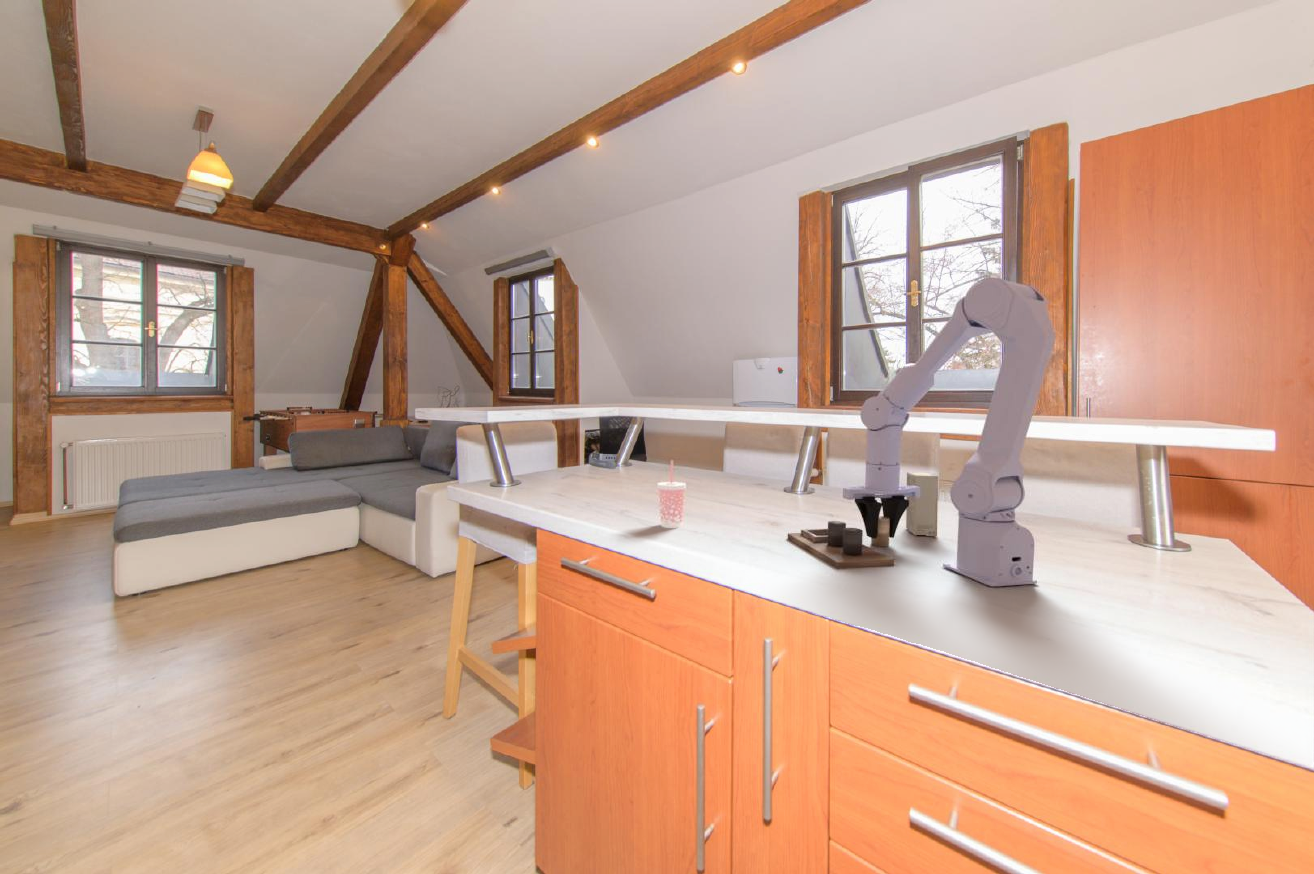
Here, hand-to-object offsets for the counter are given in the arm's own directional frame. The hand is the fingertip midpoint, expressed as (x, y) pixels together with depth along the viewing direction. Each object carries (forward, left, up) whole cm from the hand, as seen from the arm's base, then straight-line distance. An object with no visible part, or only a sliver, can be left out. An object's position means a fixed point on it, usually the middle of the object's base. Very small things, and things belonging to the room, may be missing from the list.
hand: (880, 536), depth 92 cm
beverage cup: (+21, +35, -2) cm, 41 cm away
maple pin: (0, 0, -1) cm, 1 cm away
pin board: (-2, +10, -2) cm, 10 cm away
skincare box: (+7, -14, -2) cm, 16 cm away
